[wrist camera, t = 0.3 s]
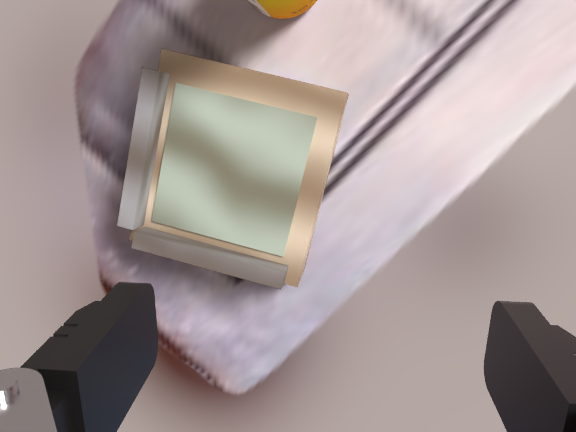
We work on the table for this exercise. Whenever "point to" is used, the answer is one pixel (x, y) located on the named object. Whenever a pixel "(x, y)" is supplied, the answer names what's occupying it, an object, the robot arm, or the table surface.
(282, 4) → the beer can
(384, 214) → the table surface
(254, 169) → the square tray
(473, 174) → the table surface
